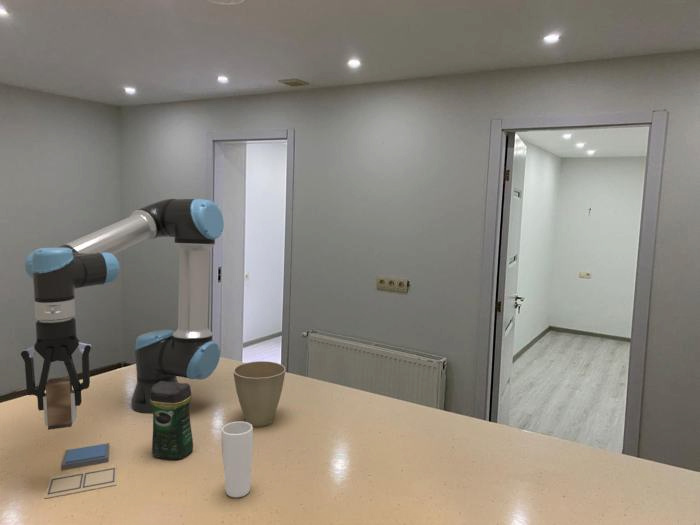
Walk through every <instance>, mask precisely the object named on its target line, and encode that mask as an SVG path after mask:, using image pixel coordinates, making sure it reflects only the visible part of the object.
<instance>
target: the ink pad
mask: <svg viewBox="0 0 700 525" xmlns="http://www.w3.org/2000/svg"><path fill="white" fill-rule="evenodd" d="M110 448H111V447H110V443H109V442H108V443H107V442H106V443H101V444H97V445H89V446H84V447H77V448H70V449H66V450H65V452H64V455H63V459H62V463H61V470H62V471H63V470H70V469H75V468H76V469H77V468H81V467H88V466H92V465H93V466H94V465H99V464H105V463H109V460H110V458H109V457H110Z"/></svg>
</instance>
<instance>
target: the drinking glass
mask: <svg viewBox="0 0 700 525" xmlns="http://www.w3.org/2000/svg"><path fill="white" fill-rule="evenodd" d="M253 428H254V426H252V425H251V424H250V423H247V422H246V421H232V422H229V423H226V424H225V425H223V426H222V428H221V453H222V454H221V455H222V461H223V462H222V463H223V473H224V481H225V493H226V494H227V496H229V497H230V498H242V497H244V496H247V495H248V494H249V492H250V490H251V476H252V474H251V472H252V466H253V465H252V462H253V450H254V430H253Z"/></svg>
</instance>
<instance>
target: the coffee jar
mask: <svg viewBox="0 0 700 525" xmlns="http://www.w3.org/2000/svg"><path fill="white" fill-rule="evenodd" d="M191 400H192V391H191V385H190V384H189V383H186V382H184V383H183V382H178V383H175V382H165V381H160V382H158V383H156V384H155V385H153V386H152V388H151V394H150V403H151V405H152V409H153V413H152V422H153V424H152V440H151V441H152V443H151V445H152V446H151V453H152V455H153V456H154V457H156V458H160V459H165V460H178V459H182V458H184V457H187V456H188V455H190V453H192V451H193V449H194V440H193V433H192V426H191V425H192V423H191V417H190V416H191V415H190V403H191Z"/></svg>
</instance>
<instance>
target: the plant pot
mask: <svg viewBox="0 0 700 525" xmlns="http://www.w3.org/2000/svg"><path fill="white" fill-rule="evenodd" d="M232 374H233V379H234V386H235V389H236V390H235V391H236V395H237V398H238V402H239V405H240V408H241V411H242V414H243V417H244V419H245V422H247V423H250V424H251V425H252V427H257V428H259V427H260V428H261V427H265V426H268V425H270V424H271V423H272V422H273V420H274V417H275V415H276V413H277V412H276V411H277V409H278V406H279V402H280V399H281V395H282V391H283V386H284V381H285V374H286V367H285V365H283V364H281V363H278V362H274V361H266V360H265V361H264V360H261V361H260V360H258V361H257V360H256V361H250V362H244V363H242V364H239V365H237V366H236V367H234V368H233V370H232Z"/></svg>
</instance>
